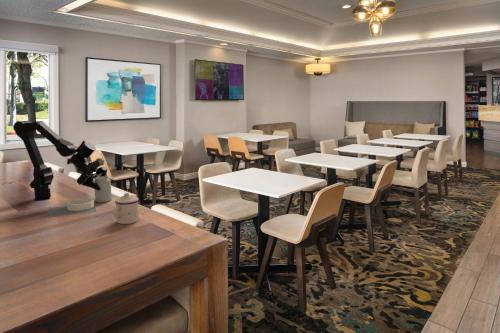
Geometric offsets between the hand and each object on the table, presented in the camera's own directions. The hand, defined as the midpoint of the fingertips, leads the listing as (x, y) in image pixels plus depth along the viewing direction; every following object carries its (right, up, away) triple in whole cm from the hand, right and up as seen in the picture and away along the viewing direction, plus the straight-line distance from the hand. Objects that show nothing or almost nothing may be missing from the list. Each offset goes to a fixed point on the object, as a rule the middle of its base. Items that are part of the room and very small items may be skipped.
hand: (105, 187), depth 182 cm
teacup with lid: (+20, -12, -29) cm, 37 cm away
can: (-1, -7, +1) cm, 7 cm away
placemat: (-9, -9, -14) cm, 19 cm away
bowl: (-7, -8, -11) cm, 15 cm away
